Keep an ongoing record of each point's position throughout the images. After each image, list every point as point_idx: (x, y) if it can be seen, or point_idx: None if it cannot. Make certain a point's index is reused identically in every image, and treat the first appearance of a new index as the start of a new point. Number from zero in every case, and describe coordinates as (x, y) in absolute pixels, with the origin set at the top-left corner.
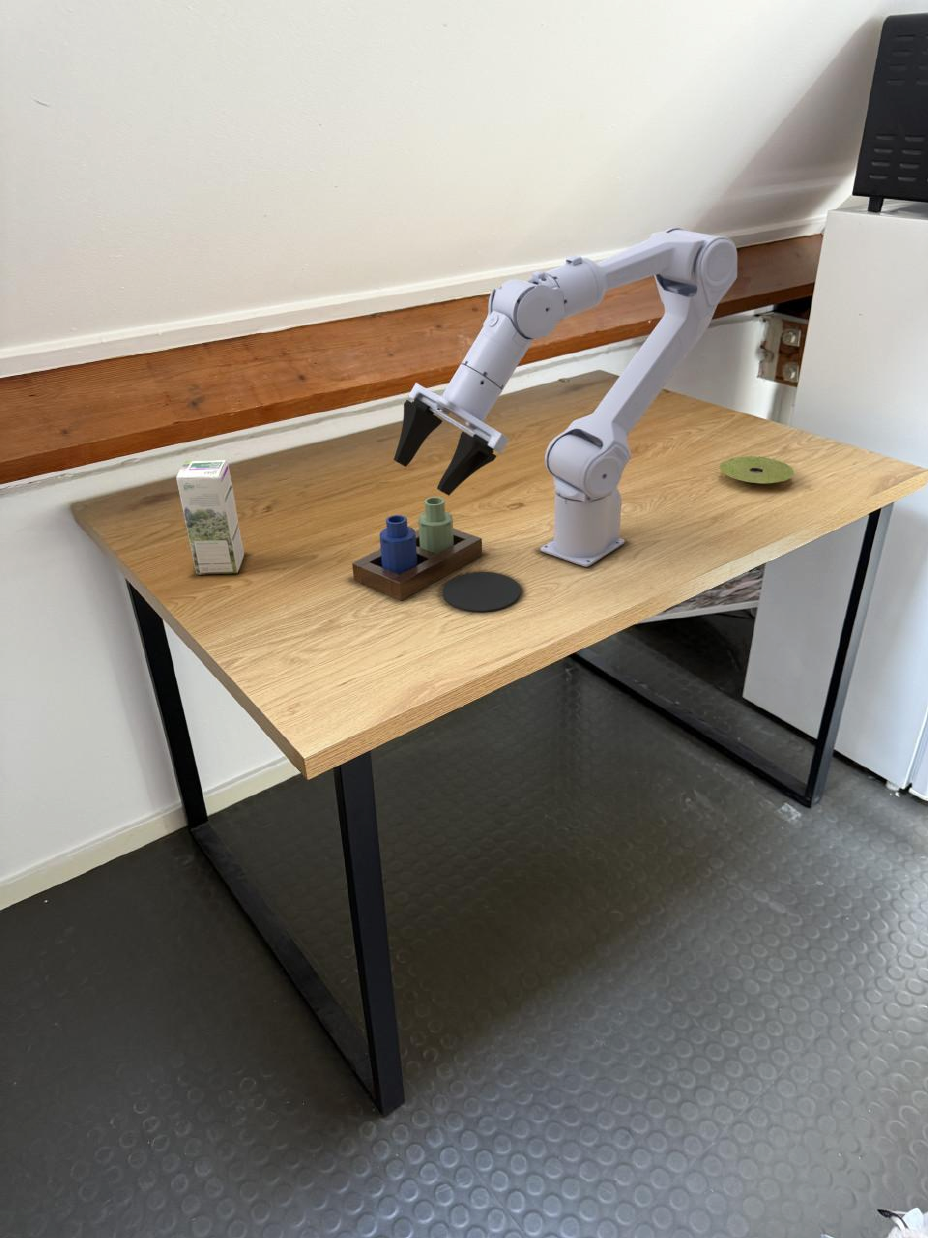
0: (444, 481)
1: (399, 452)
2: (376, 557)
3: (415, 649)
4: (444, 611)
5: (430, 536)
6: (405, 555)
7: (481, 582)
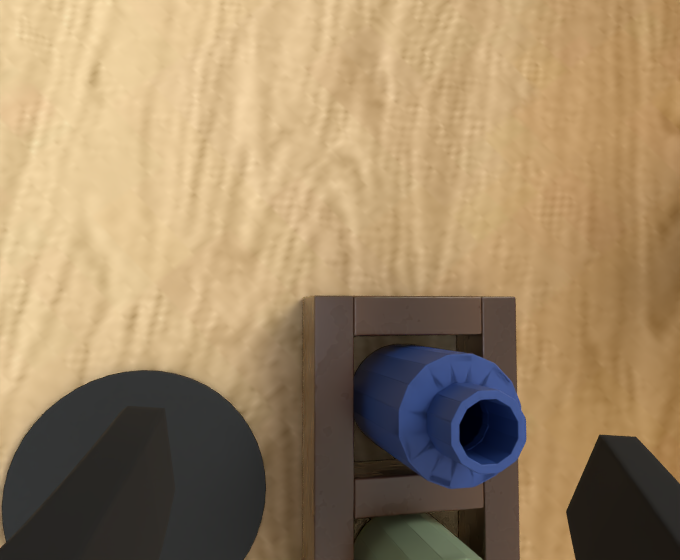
0: (93, 449)
1: (641, 479)
2: None
3: (81, 126)
4: (158, 334)
5: (414, 550)
6: (383, 388)
7: (175, 535)
